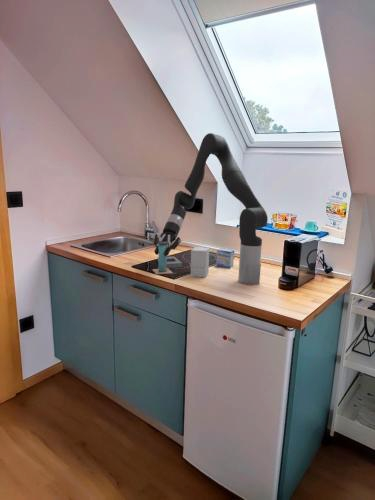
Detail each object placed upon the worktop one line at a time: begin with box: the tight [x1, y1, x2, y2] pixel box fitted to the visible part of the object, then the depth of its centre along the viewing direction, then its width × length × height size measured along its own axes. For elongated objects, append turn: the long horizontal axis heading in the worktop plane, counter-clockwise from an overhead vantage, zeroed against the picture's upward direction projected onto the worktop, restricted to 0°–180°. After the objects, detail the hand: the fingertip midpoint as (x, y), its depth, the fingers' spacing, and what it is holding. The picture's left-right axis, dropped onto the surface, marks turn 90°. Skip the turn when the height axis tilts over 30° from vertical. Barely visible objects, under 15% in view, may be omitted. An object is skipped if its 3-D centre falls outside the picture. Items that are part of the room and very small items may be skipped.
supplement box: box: [190, 246, 210, 278], centre depth 177 cm, size 7×7×13 cm
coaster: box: [152, 268, 173, 275], centre depth 180 cm, size 8×8×1 cm
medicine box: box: [215, 248, 235, 269], centre depth 193 cm, size 8×4×9 cm, turn 62°
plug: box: [157, 241, 168, 272], centre depth 179 cm, size 5×5×14 cm
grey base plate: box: [167, 256, 183, 269], centre depth 193 cm, size 14×9×2 cm, turn 19°
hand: (160, 254), depth 177 cm, fingers open, 4 cm apart
